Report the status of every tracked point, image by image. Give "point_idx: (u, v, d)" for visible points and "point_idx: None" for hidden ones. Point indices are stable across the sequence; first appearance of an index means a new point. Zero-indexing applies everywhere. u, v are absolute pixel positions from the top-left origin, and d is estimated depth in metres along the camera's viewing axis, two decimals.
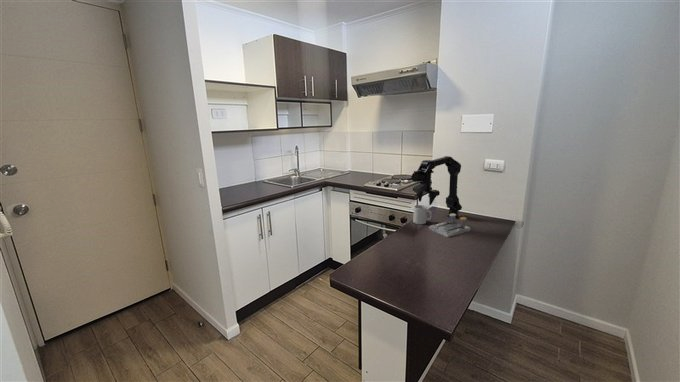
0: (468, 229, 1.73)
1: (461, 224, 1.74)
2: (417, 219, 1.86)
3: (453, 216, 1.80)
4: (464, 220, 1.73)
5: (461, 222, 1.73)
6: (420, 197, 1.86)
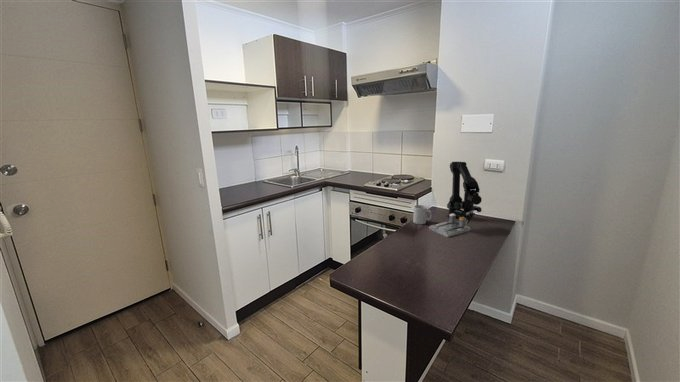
0: (468, 229, 1.73)
1: (461, 224, 1.73)
2: (417, 219, 1.86)
3: (453, 216, 1.80)
4: (464, 220, 1.73)
5: (461, 222, 1.73)
6: None
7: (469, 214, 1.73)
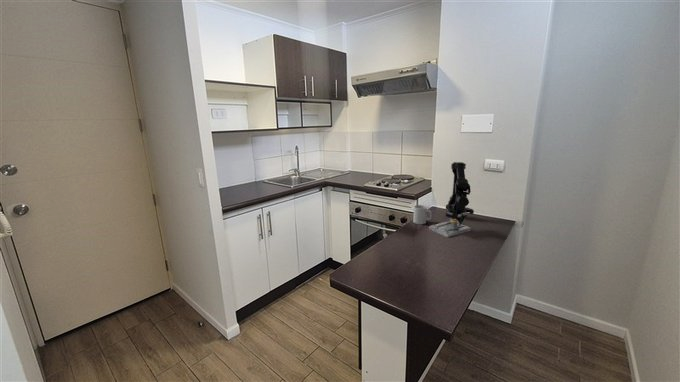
0: (468, 229, 1.73)
1: (452, 226, 1.70)
2: (417, 219, 1.86)
3: None
4: (455, 222, 1.70)
5: (452, 224, 1.70)
6: None
7: (461, 216, 1.69)
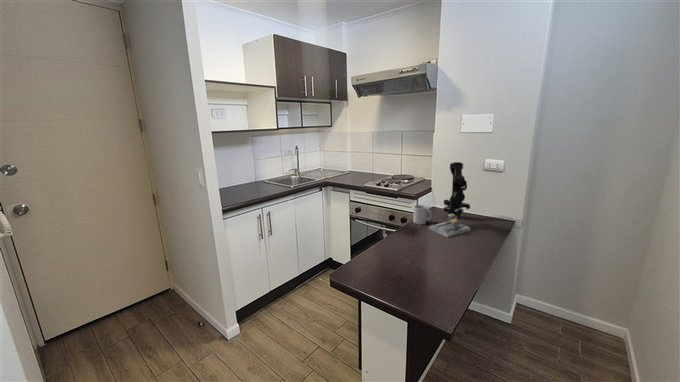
0: (468, 229, 1.73)
1: (452, 226, 1.70)
2: (417, 219, 1.86)
3: (452, 216, 1.79)
4: (455, 222, 1.70)
5: (452, 224, 1.70)
6: None
7: (458, 211, 1.79)
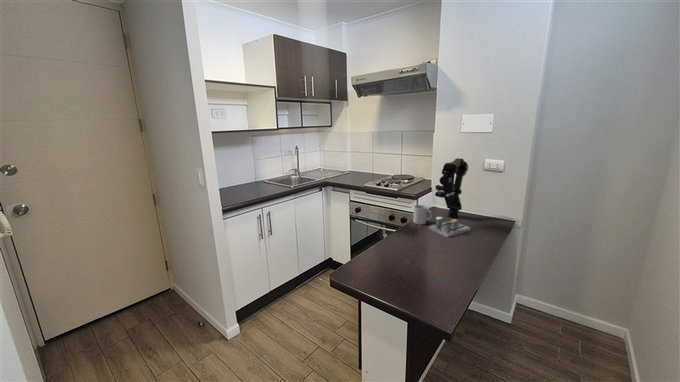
0: (468, 229, 1.73)
1: (452, 226, 1.70)
2: (417, 219, 1.86)
3: (440, 219, 1.74)
4: (455, 222, 1.70)
5: (452, 224, 1.70)
6: None
7: (449, 196, 1.81)
